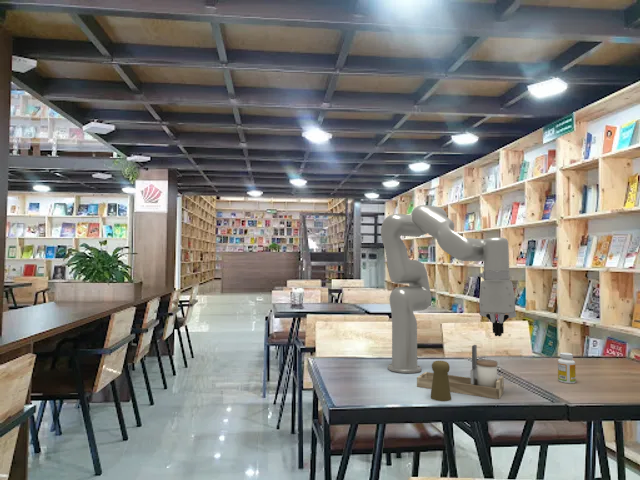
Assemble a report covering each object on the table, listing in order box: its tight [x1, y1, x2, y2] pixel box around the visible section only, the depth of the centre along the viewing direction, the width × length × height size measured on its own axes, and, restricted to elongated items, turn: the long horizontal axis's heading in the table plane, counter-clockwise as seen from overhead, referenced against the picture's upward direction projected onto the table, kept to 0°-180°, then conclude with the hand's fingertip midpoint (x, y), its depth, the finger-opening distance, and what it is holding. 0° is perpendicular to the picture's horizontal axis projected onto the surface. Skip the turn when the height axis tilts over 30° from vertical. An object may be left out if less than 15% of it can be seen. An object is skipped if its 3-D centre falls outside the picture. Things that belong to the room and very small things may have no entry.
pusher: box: [470, 344, 478, 385], centre depth 142 cm, size 7×1×14 cm, turn 149°
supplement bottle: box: [557, 352, 577, 384], centre depth 155 cm, size 5×5×10 cm
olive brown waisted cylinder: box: [430, 360, 452, 402], centre depth 134 cm, size 6×6×11 cm
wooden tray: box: [416, 371, 505, 400], centre depth 144 cm, size 9×25×5 cm, turn 59°
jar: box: [477, 358, 498, 388], centre depth 140 cm, size 6×6×10 cm
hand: (498, 335), depth 138 cm, fingers closed
